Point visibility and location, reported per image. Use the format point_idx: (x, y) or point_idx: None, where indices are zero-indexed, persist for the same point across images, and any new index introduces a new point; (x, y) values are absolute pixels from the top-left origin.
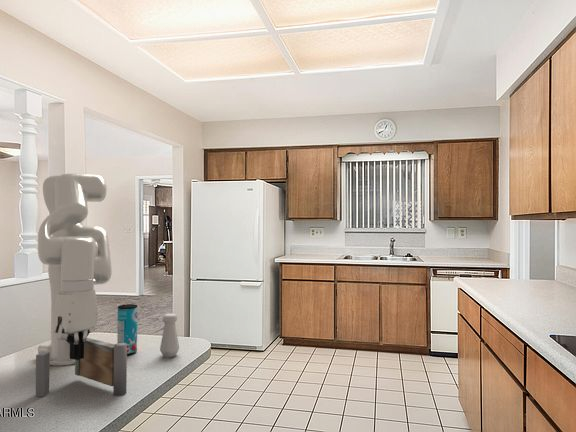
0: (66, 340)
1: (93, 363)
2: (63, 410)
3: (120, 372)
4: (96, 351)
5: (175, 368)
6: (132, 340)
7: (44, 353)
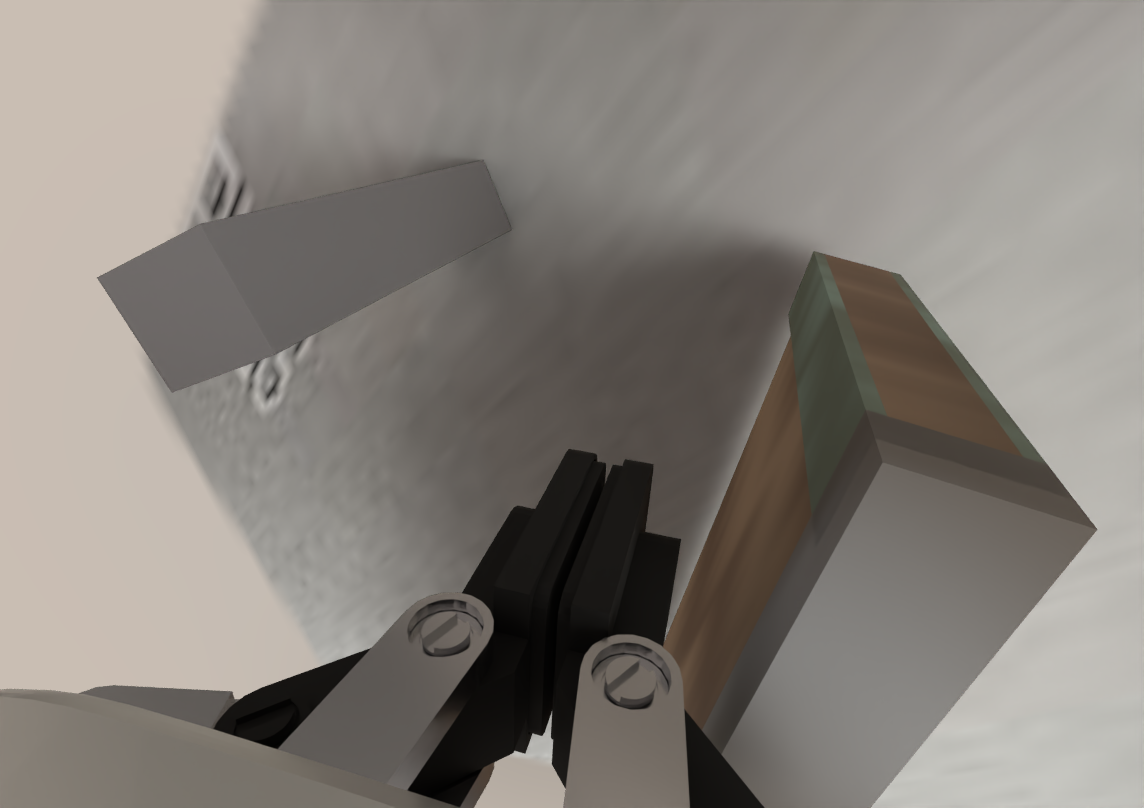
0: (317, 683)
1: (711, 606)
2: (376, 511)
3: None
4: None
5: None
6: None
7: (198, 336)
